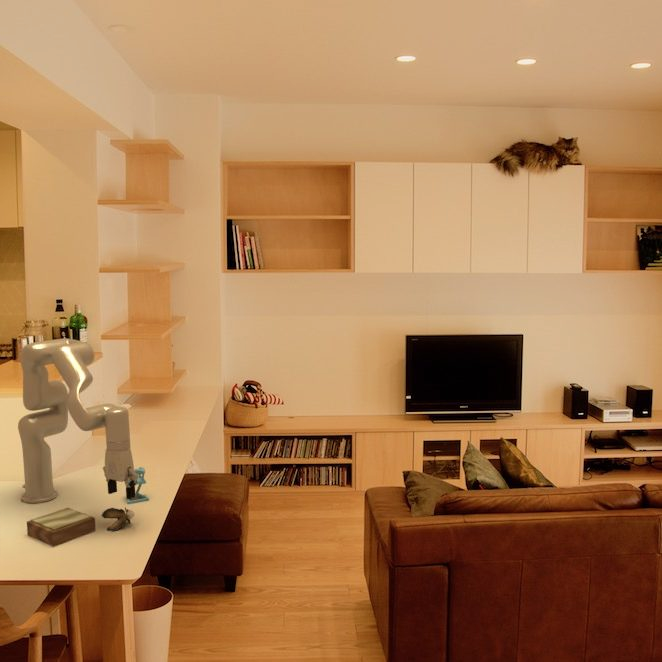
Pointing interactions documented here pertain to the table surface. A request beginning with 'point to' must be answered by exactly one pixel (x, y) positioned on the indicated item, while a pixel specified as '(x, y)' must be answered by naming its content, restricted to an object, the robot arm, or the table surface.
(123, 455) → the robot arm
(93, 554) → the table surface
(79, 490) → the table surface
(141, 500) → the chair
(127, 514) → the eagle figurine
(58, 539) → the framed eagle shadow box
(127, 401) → the table surface
